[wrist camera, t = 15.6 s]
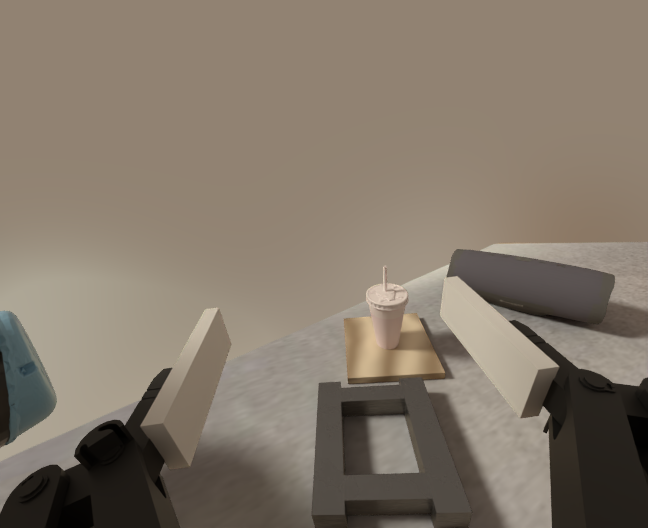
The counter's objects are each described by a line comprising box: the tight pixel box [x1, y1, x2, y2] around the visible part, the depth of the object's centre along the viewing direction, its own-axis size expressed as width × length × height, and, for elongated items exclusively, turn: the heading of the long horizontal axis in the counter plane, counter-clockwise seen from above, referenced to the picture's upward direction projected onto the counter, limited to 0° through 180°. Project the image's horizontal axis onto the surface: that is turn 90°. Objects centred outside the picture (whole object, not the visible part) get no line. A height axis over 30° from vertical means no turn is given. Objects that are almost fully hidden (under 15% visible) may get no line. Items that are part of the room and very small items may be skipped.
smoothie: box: [366, 266, 408, 349], centre depth 41 cm, size 6×6×14 cm
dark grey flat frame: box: [312, 377, 472, 528], centre depth 30 cm, size 14×14×3 cm
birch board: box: [344, 313, 445, 384], centre depth 44 cm, size 14×14×1 cm
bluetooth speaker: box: [447, 249, 615, 324], centre depth 48 cm, size 23×9×10 cm, turn 49°
